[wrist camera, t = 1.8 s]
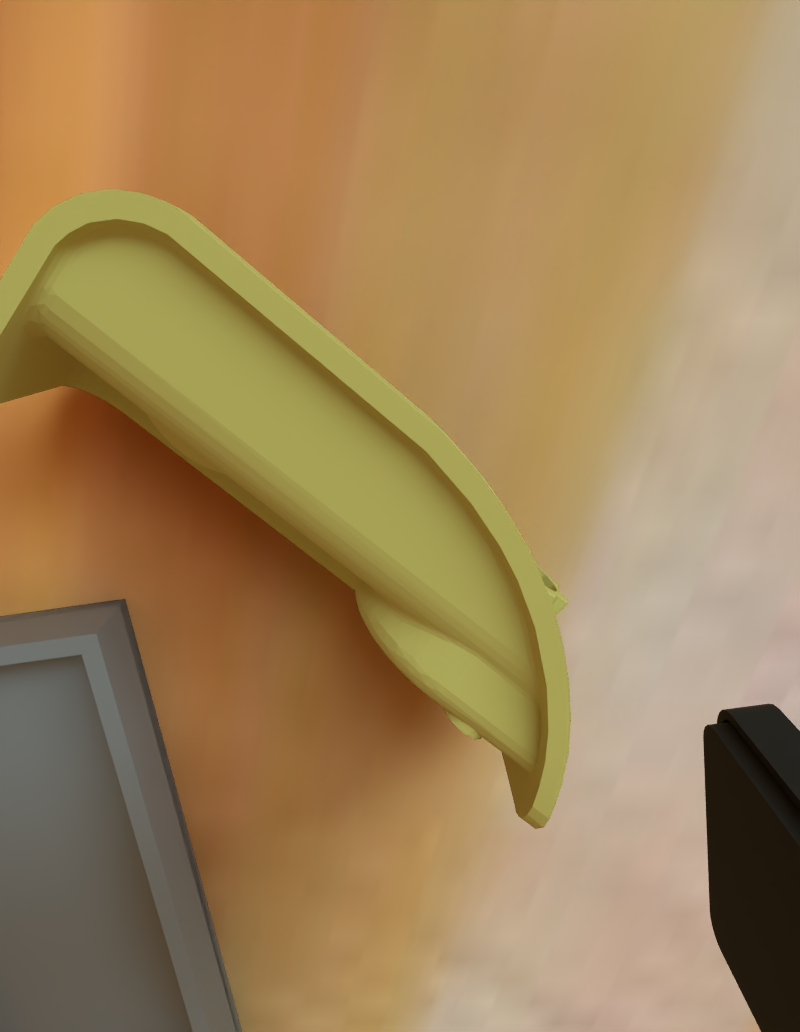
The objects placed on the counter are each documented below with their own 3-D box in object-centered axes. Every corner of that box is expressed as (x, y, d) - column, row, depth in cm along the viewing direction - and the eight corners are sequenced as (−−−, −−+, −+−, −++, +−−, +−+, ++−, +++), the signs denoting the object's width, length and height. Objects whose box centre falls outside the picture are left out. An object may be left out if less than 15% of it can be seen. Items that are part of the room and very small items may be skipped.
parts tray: (-191, 643, 29) (-253, 682, 27) (124, 598, 29) (96, 633, 26) (-4, 1101, 37) (-37, 1171, 34) (252, 1070, 36) (240, 1138, 33)
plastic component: (72, 367, 27) (-101, 409, 17) (199, 192, 25) (87, 130, 16) (494, 692, 31) (546, 875, 21) (624, 557, 29) (745, 688, 19)
